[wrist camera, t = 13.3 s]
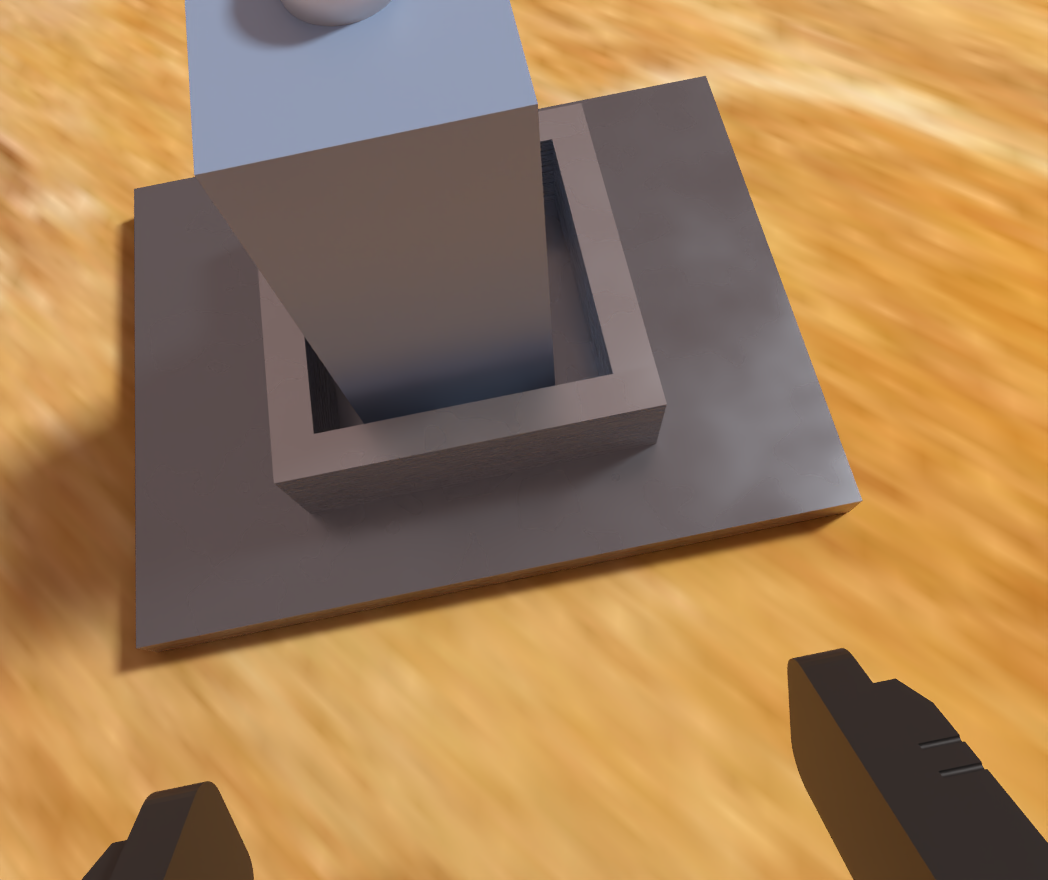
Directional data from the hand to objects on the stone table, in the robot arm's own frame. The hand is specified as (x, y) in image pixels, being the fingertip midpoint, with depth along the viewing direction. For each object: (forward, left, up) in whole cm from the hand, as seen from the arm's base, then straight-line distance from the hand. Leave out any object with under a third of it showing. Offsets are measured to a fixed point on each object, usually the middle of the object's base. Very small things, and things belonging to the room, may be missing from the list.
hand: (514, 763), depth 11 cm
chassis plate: (-4, +10, -8) cm, 14 cm away
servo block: (-5, +10, -7) cm, 13 cm away
